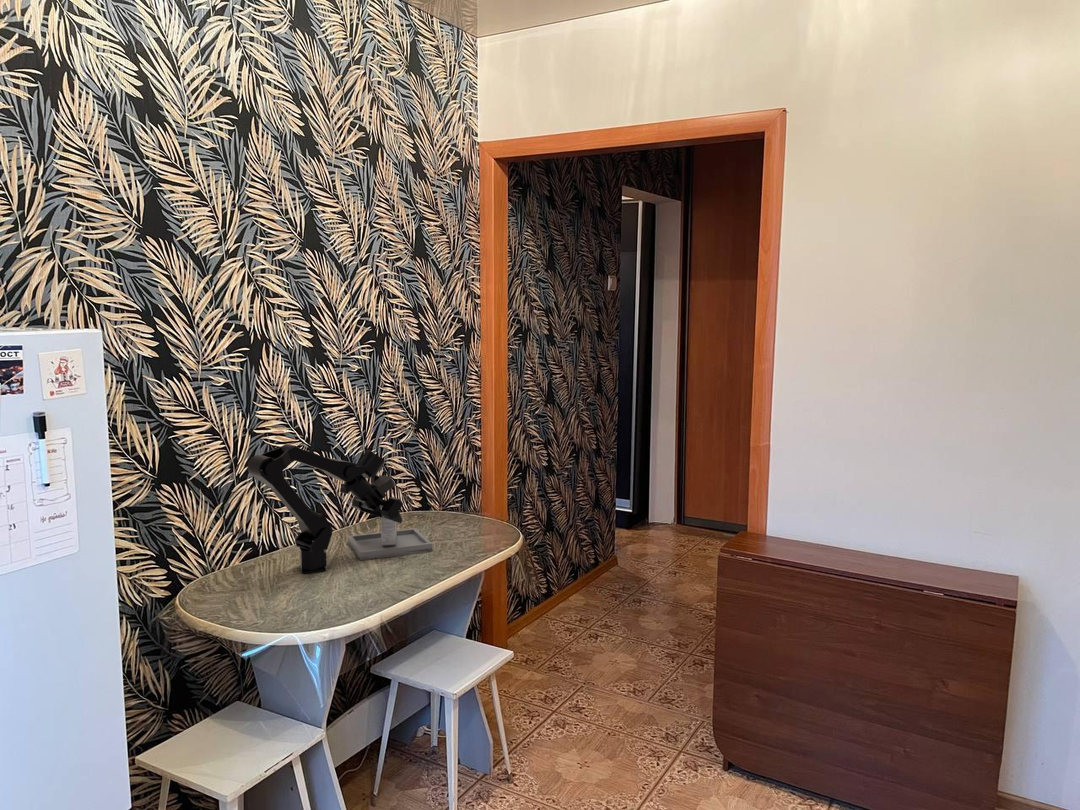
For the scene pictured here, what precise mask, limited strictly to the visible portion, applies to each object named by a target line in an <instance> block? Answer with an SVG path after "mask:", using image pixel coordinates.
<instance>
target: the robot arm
mask: <svg viewBox="0 0 1080 810" xmlns="http://www.w3.org/2000/svg"><path fill="white" fill-rule="evenodd" d="M293 462H298V463H299V464H300V463H301V464H303V465H306V466H308V467H312V468H315V469H317V470H320V471H322V472H323V473H324V474H325V475H327V476H329V477H330V478H332V479H335V480H337V481H338V480H339V481H342V482H344V483H340V488H339V493H342V494H345V495H348V494H349V493H350V494H352V495H353V496H354V497H353V499H352V501H351V506H352V508H354V509H355V510H358V511H360V512H363V513H366V514H369V515H372V516H376V517H379V518H382V516H384V518H386V519H389V520H392V521H395V522H397V524H401V523H402V522H403V518H402V516H401V513H400V510H401V508H402V506H403V505H404V502H403V501H402V500H401V499H400V498H398V497H393V496H391V497H388V498H387V500H386V499H385V498H386V497H387V494H386V493H387V492H389V491H390V490H391V489H393V488H395V484H394V481H393V478H392V476H389V475H384V474H383V475H377V474H378V473H379V472H380V470H381V468H382V467H383V466H384V464H385V463H386V462H385V460H384V458H383V457H382V456H379V455H377V454H376V453H374V452H373V451H372V450H368V449H367V450H366V451H364V453H363V456H362V457H360V459H359V460H358V462H357V463H354V462H353V461H352V462H351V461H346V460H342V459H338V458H330V457H329V458H328V457H325V456H322V455H320V454H317V453H314V452H312V451H308V450H306V449H303V448H300V447H299V446H298V445H293V444H289V443H286V444H283V445H280V446H279V447H278V448H277V447H276V448H275V449H272V450H269V451H265V452H264V453H262V454H257V455H254V456H252V457H251V458H250V459H249V461H248V463H247V467H246V468H247V472H248V473H249V474H250V475H251V476H252V477H254V478H255V479H257V480H258V481H259V482H261V483H262V484H264V485H265V486H267V487H268V488H269V489H271V491H272V492H273V494H275V496H276V497H277V498H278V499H279V500H280V502H281V503H282V504H283V505H284V506H285V507H286V509H288V511H289V513H291V515H292V516H293V517H294V518H295V519H296V520H297V522H298V526H299V527H298V528H299V531H300V532H299V534H298V535H297V537H296V538H295V539H294V543H295V545H296V547H297V548H299V565H298V568H299V570H300V572H301V574H303V575H305V574H309V573H310V574H311V573H317V572H318V573H319V572H320V573H321V572H325V571H326V570H327V569H326V567H327V566H328V565H327V552H326V551H327V550H328V548H329V544H330V541H331V538H332V536H333V532H334V530H333V527H332V525H333V523H331V522H330V521H329V520H328V518H327V517H326V516H325V514H323V513H319V512H316V511H313V510H311V509H310V508H309V506H308V505H307V504H306V503H305V502H304V500H303V499H302V498H301V497H300V496H299V494H298V493H297V492H296V491H295V490H294V489H293V487H292V486H291V485H290V484H289V482H288V481H287V480H286V478H285V473H284V470H285V469H287V468H288V467H289V466H290V465H291V463H293ZM367 479H370V482H369V481H368V480H367Z"/></svg>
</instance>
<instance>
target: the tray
mask: <svg viewBox="0 0 1080 810" xmlns="http://www.w3.org/2000/svg"><path fill="white" fill-rule="evenodd" d="M347 545H348V546H349V547H350V549H351V550H352V551H353V553H354V554H355V556H356V557H357V558H358V559H359V561H368V560H369V559H370V560H376V559H375V558H378V559H383V558H384V559H385V558H393V557H400V556H408V555H415V554H423V553H431V551H432V552H433V542H431V541H430V540H429V539H428V538H427V537H426V536H425V535H424V534H422V533H421V532H420V531H419V529H418V528H416V527H415V528H406V529H405V528H404V529H398V530H397V539H396V545H382V544H381V531H378V532H371V533H361V534H352V535H347Z"/></svg>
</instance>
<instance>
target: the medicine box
mask: <svg viewBox="0 0 1080 810" xmlns="http://www.w3.org/2000/svg"><path fill="white" fill-rule="evenodd" d="M380 518H381V517H380ZM397 524H398V522H395V521H392V520H389V519H386V518H384V516H382V518H381V519H380V532H381V544H382V545H396V539H397V529H398V527H397Z"/></svg>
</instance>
